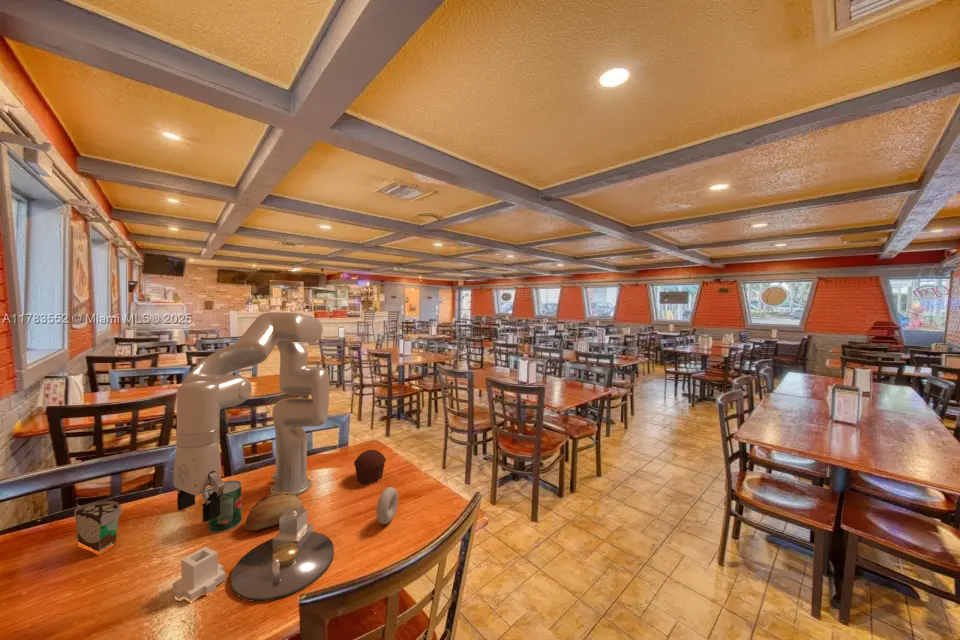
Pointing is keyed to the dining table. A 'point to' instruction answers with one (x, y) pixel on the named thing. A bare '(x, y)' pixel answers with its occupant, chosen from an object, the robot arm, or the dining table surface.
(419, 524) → the dining table surface
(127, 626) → the dining table surface
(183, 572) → the hollow square tube block
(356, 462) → the muffin
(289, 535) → the carrier
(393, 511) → the donut
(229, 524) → the canned tomato
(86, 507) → the food container
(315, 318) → the robot arm
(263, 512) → the bread roll
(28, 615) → the dining table surface
